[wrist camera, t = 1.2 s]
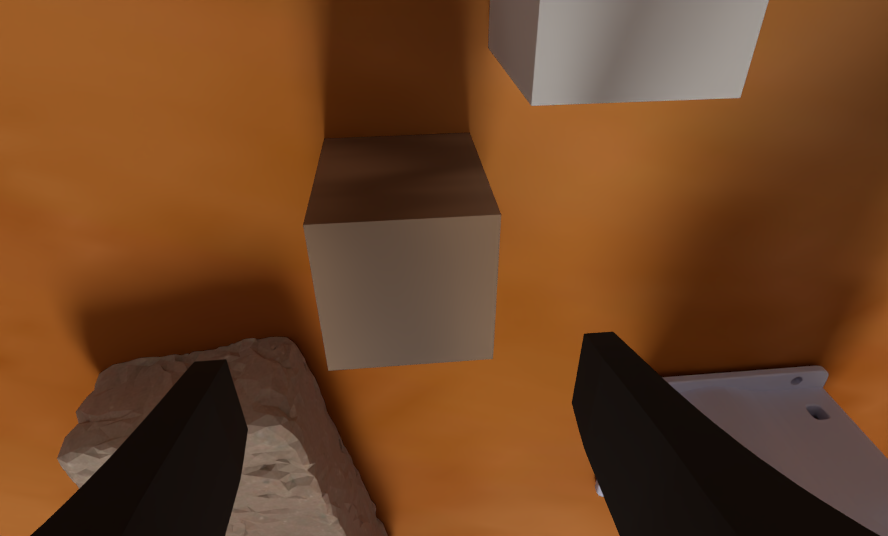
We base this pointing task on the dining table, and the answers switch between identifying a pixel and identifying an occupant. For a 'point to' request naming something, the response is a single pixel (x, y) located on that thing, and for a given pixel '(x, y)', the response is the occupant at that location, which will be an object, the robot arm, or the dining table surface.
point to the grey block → (625, 48)
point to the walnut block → (403, 250)
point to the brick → (267, 447)
